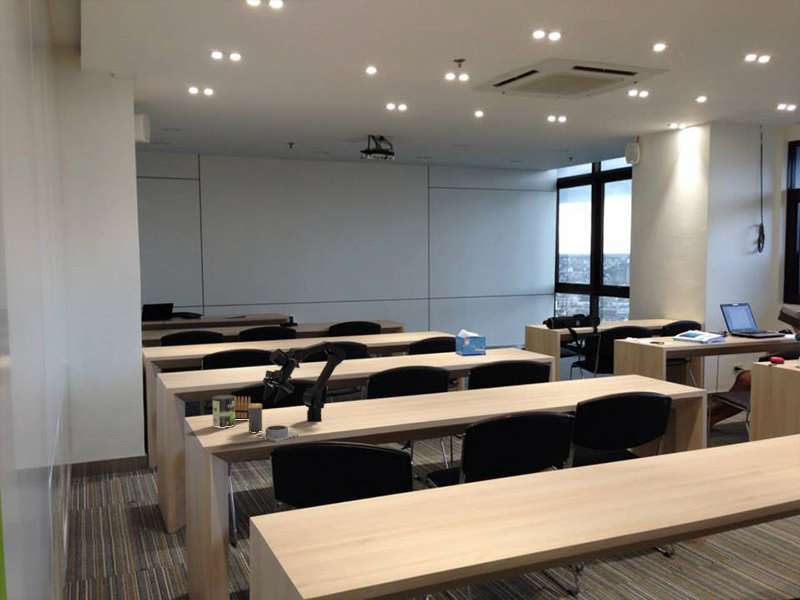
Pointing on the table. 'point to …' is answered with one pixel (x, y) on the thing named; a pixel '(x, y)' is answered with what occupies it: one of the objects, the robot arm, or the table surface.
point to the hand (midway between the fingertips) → (269, 400)
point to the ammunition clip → (242, 408)
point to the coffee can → (223, 410)
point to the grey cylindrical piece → (255, 417)
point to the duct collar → (277, 433)
